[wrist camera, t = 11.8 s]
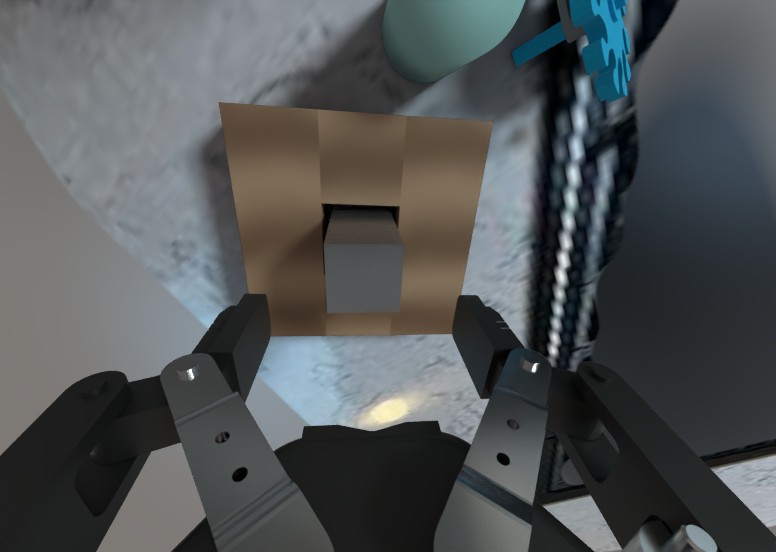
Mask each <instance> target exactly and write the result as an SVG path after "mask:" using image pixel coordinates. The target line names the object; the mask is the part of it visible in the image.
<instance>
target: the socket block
mask: <svg viewBox="0 0 776 552" xmlns="http://www.w3.org/2000/svg"><path fill="white" fill-rule="evenodd" d="M219 108H220V114H221V120H222V127H223V133H224V139H225V145H226V152H227V158H228V164H229V171H230V177H231V183H232V190H233V196H234V202H235V208H236V215H237V221H238V227H239V234H240V240H241V246H242V253H243V259H244V265H245V272H246V278H247V284H248V290H249V294H266V296H267V301H268V308H269V315H270V323H271V336H339V335H417V334H452V325H453V319H454V314H455V309H456V303H457V299H458V297H459V296H460V295H461V292H462V287H463V281H464V276H465V271H466V265H467V260H468V255H469V249H470V244H471V239H472V233H473V228H474V222H475V217H476V212H477V206H478V201H479V196H480V190H481V185H482V180H483V174H484V169H485V164H486V158H487V153H488V147H489V142H490V137H491V131H492V126H493V122H488V121H474V120H460V119H446V118H432V117H418V116H404V115H390V114H376V113H362V112H348V111H334V110H320V109H306V108H292V107H278V106H264V105H250V104H236V103H222V102H219ZM327 204H352V205H379V206H392V217H393V219H394V221H395V223H396V226H397V228H398V230H399V233H400V235H401V237H402V240H403V242H404V244H405V246H404V260H403V274H402V288H401V301H400V312H370V313H327V299H326V279H325V259H324V241H325V237H326V233H327Z"/></svg>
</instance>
